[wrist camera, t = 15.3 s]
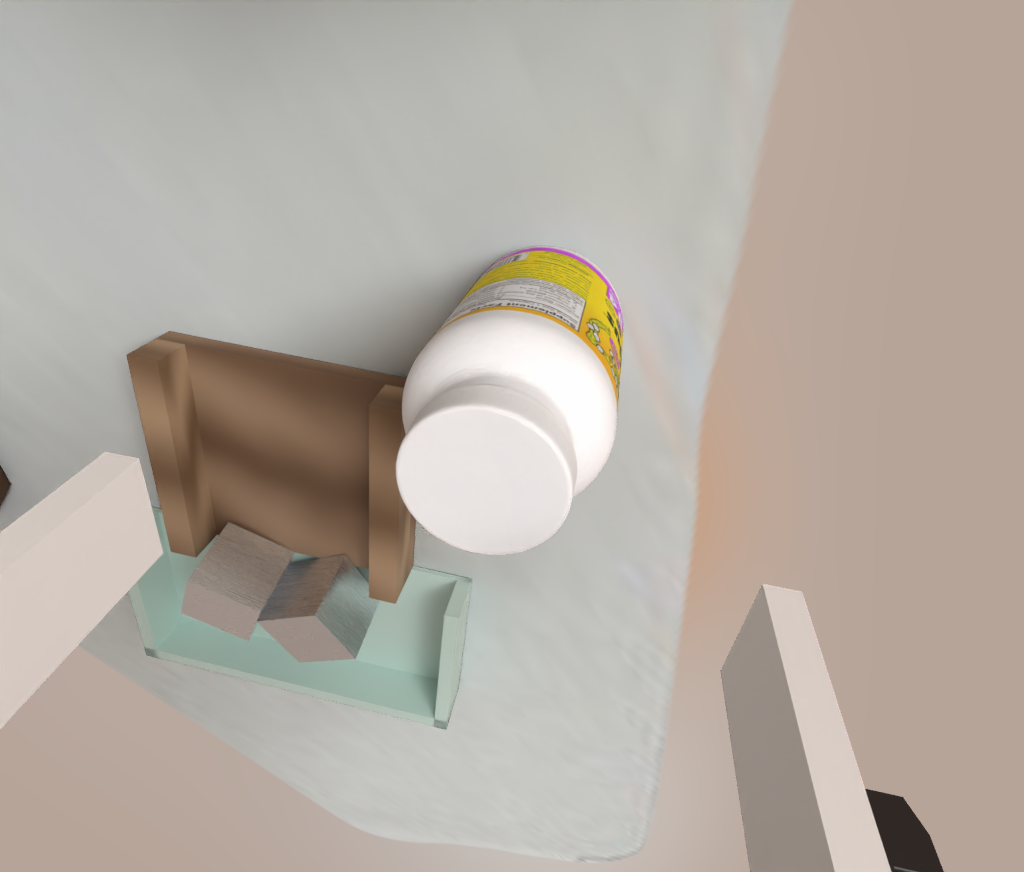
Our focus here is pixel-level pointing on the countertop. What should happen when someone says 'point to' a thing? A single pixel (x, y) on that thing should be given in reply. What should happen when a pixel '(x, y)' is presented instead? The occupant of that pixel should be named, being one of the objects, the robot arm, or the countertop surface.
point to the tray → (354, 682)
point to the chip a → (235, 581)
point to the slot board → (276, 452)
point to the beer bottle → (3, 484)
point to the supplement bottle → (513, 403)
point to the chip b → (320, 610)
